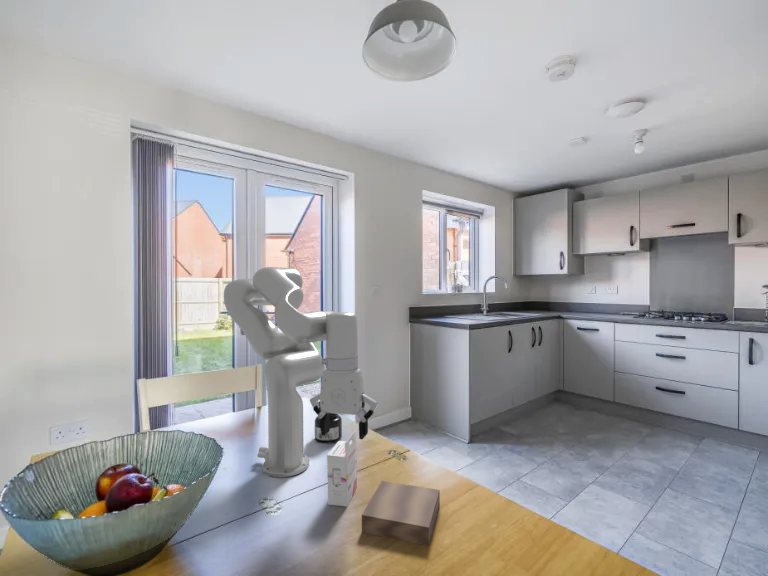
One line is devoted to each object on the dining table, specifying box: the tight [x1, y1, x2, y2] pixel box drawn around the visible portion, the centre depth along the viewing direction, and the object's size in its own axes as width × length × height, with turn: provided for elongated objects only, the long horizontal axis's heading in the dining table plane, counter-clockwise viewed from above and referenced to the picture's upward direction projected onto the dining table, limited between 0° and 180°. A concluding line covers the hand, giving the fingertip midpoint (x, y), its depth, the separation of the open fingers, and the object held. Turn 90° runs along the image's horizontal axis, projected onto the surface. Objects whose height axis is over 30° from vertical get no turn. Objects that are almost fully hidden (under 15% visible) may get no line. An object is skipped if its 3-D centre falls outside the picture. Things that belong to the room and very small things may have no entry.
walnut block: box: [361, 480, 441, 546], centre depth 82 cm, size 14×14×4 cm
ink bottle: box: [314, 400, 343, 444], centre depth 124 cm, size 10×9×12 cm
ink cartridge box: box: [326, 430, 358, 507], centre depth 90 cm, size 9×5×15 cm, turn 168°
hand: (344, 435), depth 90 cm, fingers open, 9 cm apart
